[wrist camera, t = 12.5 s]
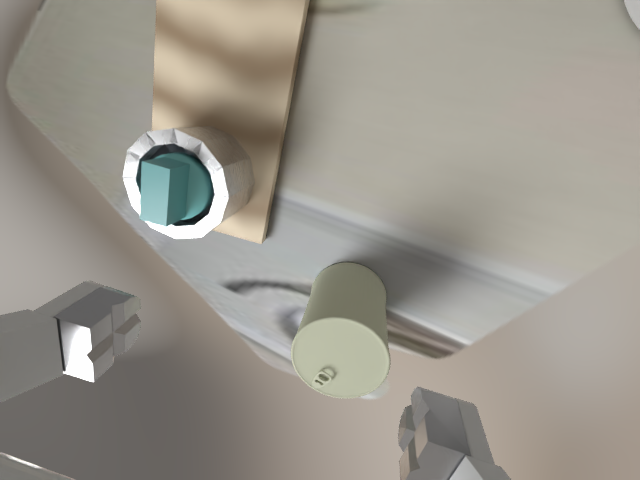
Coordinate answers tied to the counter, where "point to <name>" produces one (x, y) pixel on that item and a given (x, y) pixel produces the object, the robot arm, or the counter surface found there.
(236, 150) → the white thick faceted ring
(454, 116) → the counter surface
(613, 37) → the counter surface
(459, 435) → the robot arm
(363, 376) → the can
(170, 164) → the teal disc with post
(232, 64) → the base plate
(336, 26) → the counter surface
